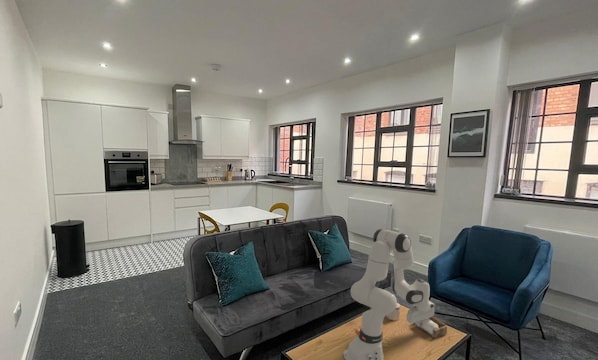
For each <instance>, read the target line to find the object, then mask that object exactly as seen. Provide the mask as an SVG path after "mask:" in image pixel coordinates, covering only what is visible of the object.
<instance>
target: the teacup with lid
mask: <svg viewBox="0 0 598 360" xmlns="http://www.w3.org/2000/svg"><path fill="white" fill-rule="evenodd" d="M400 311H401V304H400V303H399V302H397V306H396V309H395V310H394V311H393V312H392V313H389V314H387V315H386V316H385V317H386V318H387V319H388V320H390V321H399V320H400V313H401V312H400Z"/></svg>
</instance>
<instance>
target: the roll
mask: <svg viewBox="0 0 598 360" xmlns="http://www.w3.org/2000/svg"><path fill="white" fill-rule="evenodd" d="M415 323H416V324H417V322H415ZM420 327H421V328H423V329H424V330H426V331H427V332H429V333H430V334H432V335H434V329H437V328H439V327H438V325H437V324H436V323H434V322H433V321H431V320H430V319H428V318H427V319H424V322H423V326H420ZM421 328H420V329H421ZM424 330H423V331H424Z"/></svg>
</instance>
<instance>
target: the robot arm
mask: <svg viewBox="0 0 598 360" xmlns="http://www.w3.org/2000/svg"><path fill="white" fill-rule="evenodd" d="M372 240H373V243H372V244H371V248H370V251H369V254H368V260H367V265H366V270H365V273H364V275H363V277H361V279H359V280H358V281H355V283H353V284H352V285H351V288H350V296H351V298H352V299H353V300H354V301H356V302H357V303H359V304H362V305H364V306H367V307H369V308H370V309H371V310H370V309H369V310H366V311H364V312H363V314H362V315H361V326H360V329H359V330H358V329H355V331H354V333H355V334H356V335H357V336H356V337H355V338H354V339H352V341H351V342H349V344H348V347H347V349H345V350H344V351H343V353H342V355H343V358H344V359H345V360H384V358H385V355H384V349H383V342H382V341H383V323H384V318H385V317H386V315H387V314H389V313H392V312H393V311H394V310H395V309H396V306H397V303H398V301H397V297H396V296H398V297H400V298H401V299H402V300H403V301H405V303H408V304H409V305H413V306H412V307H410V308H409V309H408V310H407V313H406V321H407V322H408V323H409V324H411V325H413V324H414V323H415V322H417V326H416V327H417V328H419V327H420V326H423V322H424V319H427V318H430V317H434V315H435V306H436V305H435V303H433V302H432V301H430V299H429V298H430V292H431V291H430V290H431V289H430V284H429V282H428V281H427V280H425V279H423V278H416V279H415V281H414V282H412V283H411V284H409V283H408V282H407V281H406V279H405V277H404V270H408V269H411V268H412V267H413V265H414V262H415V260H414V259H415V258H414V253H413V248H412V240H411V238H410V237H409V236H408V235H407V234H405V233H400V232H399V231H394V230H391V229H390V230H389V229H385V228H383V229H381V228H379V229H377V230H376V231H375V232H374V234H373V238H372ZM391 251H392V253H393V263H392V273H393V275H392V276H393V277H392V280H393V281H392V287H391V288H392V291H393V293H394V294H393V293H392V292H390V291H388V290H386V289H383V288H380V287H377V286H376V284H377V282H381V281H384V280H385V279H386V278H388V277H387V276H388V273H389V265H390V257H391V256H390V254H391Z"/></svg>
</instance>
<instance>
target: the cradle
mask: <svg viewBox="0 0 598 360" xmlns="http://www.w3.org/2000/svg"><path fill="white" fill-rule="evenodd" d="M428 319H430V320H431V321H433V322H434V323H436V324H437V325H438V327H439V328H437V329H434V335H432V334H430V333H429V332H427V331H426V330H424V329H423V328H421V327H418V326H417V324H416V323H413V325H415V326H416V327H418V328H420V329H421V330H422V331H424V332H425V333H426V334H428V335H430V337H432V338H434V339H437V338H441V337H444V336H446V335H447V334H448V326H447V325H446V323H444V322H443V321H441V320H439V319H438V318H437V317H435V316H433V317H430V318H428ZM440 336H441V337H440Z"/></svg>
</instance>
